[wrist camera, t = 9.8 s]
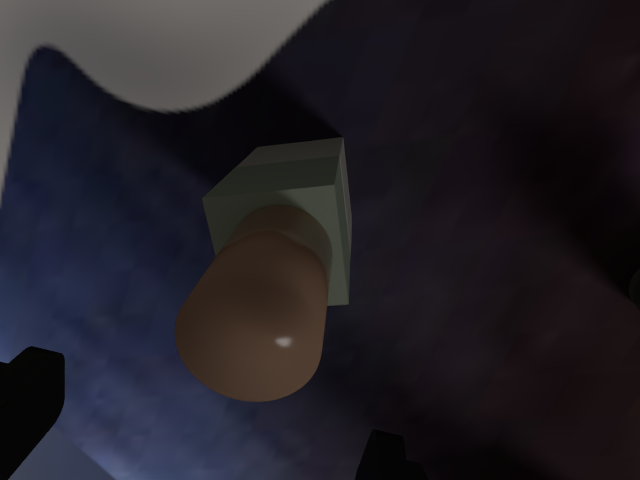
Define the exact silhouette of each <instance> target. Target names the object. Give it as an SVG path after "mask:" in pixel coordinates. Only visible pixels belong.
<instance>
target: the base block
mask: <svg viewBox="0 0 640 480" xmlns="http://www.w3.org/2000/svg"><path fill="white" fill-rule="evenodd" d="M331 156H340V165H341V174H342V183H343V192H344V201H345V210H346V219H347V228H348V237H349V246H350V253H351V229H352V217H351V207H350V198H349V188H348V179H347V170H346V160H345V151H344V141H343V137H340V138H332V139H323V140H314V141H306V142H297V143H288V144H280V145H271V146H262V147H257V148H256V149H255V150H254V151H253V152H252V153H251V154H250V155H249V156H247V157H246V158H245V159H244V160H243V161H242V162H241V163H240V164H239V165H238V166H237V167H241V166H250V165H259V164H268V163H277V162H286V161H295V160H304V159H313V158H322V157H331Z"/></svg>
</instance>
